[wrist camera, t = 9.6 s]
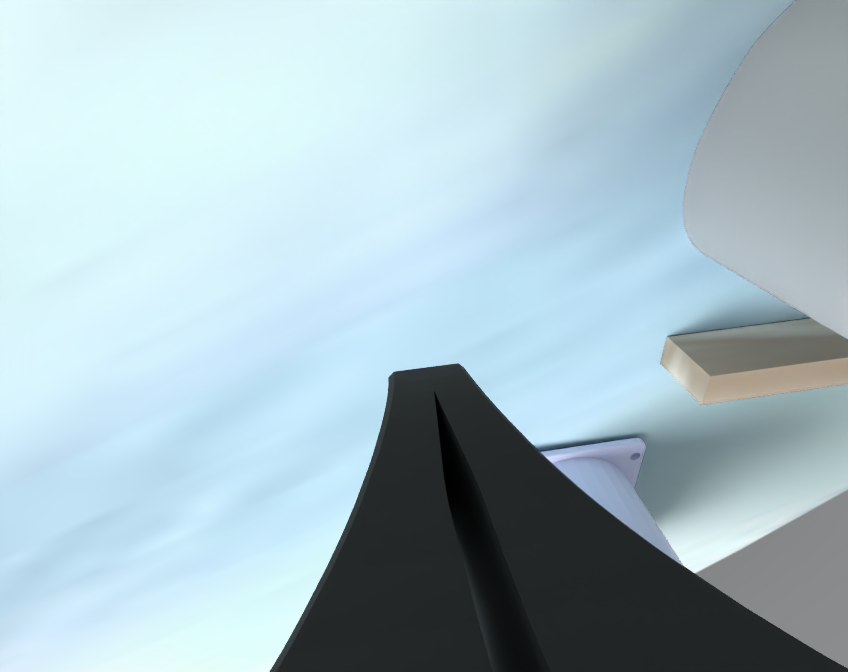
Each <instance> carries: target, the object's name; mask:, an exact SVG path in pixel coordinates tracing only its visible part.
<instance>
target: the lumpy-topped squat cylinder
mask: <svg viewBox="0 0 848 672" xmlns="http://www.w3.org/2000/svg"><path fill="white" fill-rule="evenodd" d="M683 221H684V227H685V230H686V233H687V235H688V238H689V239H690V241H691V243H692V244H693V245H694V247H695V248H696V249H697V250H698V251H699V252H701V253H702V254H704V255H705V256H707V257H709V258H710V259H712V260H714V261H715V262H717V263H719V264H720V265H722V266H724V267H725V268H727V269H729V270H731V271H732V272H734V273H736V274H737V275H739V276H741V277H742V278H744V279H746V280H747V281H749V282H751V283H752V284H754V285H756V286H758V287H759V288H761V289H763V290H764V291H766V292H768V293H769V294H771V295H773V296H775V297H776V298H778V299H780V300H781V301H783V302H785V303H787V304H788V305H790V306H792V307H793V308H795V309H797V310H798V311H800V312H802V313H803V314H805V315H807V316H808V317H810V318H812V319H813V320H815V321H817V322H819V323H820V324H822V325H824V326H826V327H827V328H829V329H831V330H832V331H834V332H836V333H838V334H839V335H841V336H843V337H845V338H846V339H848V0H795V1H794V2H793V3H792V4H791V5H790V6H789V7H788V8H787V9H786V10H785V11H784V12H783V13H782V14H781V15H780V16H779V17H778V18H777V19H776V20H775V21H774V22H773V23H772V24H771V25H770V26H769V27H768V28H767V29H766V30H765V31H764V33H763V34H762V35H761V36H760V37H759V38H758V40H757V41H756V42H755V43H754V45H753V46H752V47H751V49H750V50H749V52H748V53H747V55H746V56H745V58H744V59H743V61H742V63H741V64H740V66H739V67H738V69H737V71H736V72H735V74H734V76H733V77H732V79H731V81H730V83H729V84H728V86H727V88H726V89H725V91H724V93H723V95H722V97H721V98H720V100H719V102H718V104H717V106H716V108H715V109H714V111H713V113H712V115H711V117H710V119H709V121H708V123H707V125H706V127H705V129H704V131H703V133H702V135H701V138H700V140H699V142H698V145H697V147H696V150H695V153H694V156H693V159H692V163H691V166H690V170H689V174H688V178H687V183H686V188H685V194H684V202H683Z"/></svg>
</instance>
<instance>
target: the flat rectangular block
mask: <svg viewBox="0 0 848 672" xmlns="http://www.w3.org/2000/svg"><path fill="white" fill-rule="evenodd" d="M660 364H661V365H662V366H663V367H664V368H665V369H666V370H667V371H668V372H669V373H670V374H671V375H672V376H673V377H674V378H675V379H676V380H677V381H678V382H679V383H680V384H681V385H682V386H683V387H684V388H685V389H686V390H687V391H688V392H689V393H690V394H691V395H692V397H693V398H694V399H695V400H696V401H697V402H698V403H699V404H700V405H704V404H711V403H718V402H725V401H732V400H739V399H746V398H753V397H760V396H767V395H774V394H781V393H787V392H794V391H801V390H808V389H815V388H822V387H829V386H836V385H843V384H848V339H846V338H845V337H843V336H841V335H839V334H838V333H836V332H834V331H832V330H831V329H829V328H827V327H826V326H824V325H822V324H820V323H819V322H817V321H815V320H813V319H812V318H808V319H800V320H792V321H785V322H777V323H769V324H762V325H754V326H746V327H739V328H731V329H723V330H716V331H708V332H700V333H693V334H685V335H677V336H670V337H667V340H666V344H665V348H664V351H663V355H662V359H661V363H660Z"/></svg>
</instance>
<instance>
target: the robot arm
mask: <svg viewBox="0 0 848 672" xmlns="http://www.w3.org/2000/svg"><path fill="white" fill-rule="evenodd" d="M645 448H646V445H645V443H644V442H643V441H642V439H640V438H631V439H624V440H618V441H611V442H604V443H597V444H591V445H584V446H577V447H570V448H564V449H557V450H550V451H543V452H540V451H539V450H538V449H537V448H536V447H535V446H534V445H532V444H531V443H530V442H529V441H528V440H527V439H526V437H525V436H524V435H523V434H522V433H521V432H520V431H519V430H518V429H517V428H516V427H515V426H514V425H513V424H512V423H511V422H510V421H509V420H508V419H507V418H506V417H505V416H504V415H503V414H502V413H501V411H500V410H499V409H498V408H497V407H496V406H495V405H494V404H493V403H492V401H491V400H490V399H489V398H488V397H487V396H486V395H485V393H484V392H483V391H482V390H481V389H480V387H479V386H478V385H477V384H476V383H475V381H474V380H473V379H472V378H471V376H470V375H469V374H468V372H467V371H466V370H465V368H464V367H462V366H461V365H460V364H450V365H443V366H435V367H427V368H420V369H412V370H404V371H397V372H393V373H392V374H391V375H390V377H389V387H388V396H387V403H386V408H385V412H384V417H383V421H382V425H381V429H380V432H379V436H378V439H377V443H376V446H375V449H374V453H373V456H372V459H371V462H370V465H369V468H368V471H367V473H366V476H365V479H364V481H363V484H362V487H361V489H360V492H359V495H358V498H357V500H356V503H355V505H354V508H353V510H352V513H351V515H350V517H349V520H348V522H347V524H346V527H345V529H344V531H343V533H342V536H341V538H340V540H339V542H338V544H337V547H336V549H335V551H334V553H333V555H332V557H331V559H330V562H329V564H328V566H327V568H326V570H325V572H324V574H323V576H322V578H321V579H320V581H319V583H318V585H317V587H316V589H315V591H314V593H313V595H312V597H311V599H310V601H309V603H308V605H307V607H306V608H305V610H304V612H303V614H302V616H301V618H300V620H299V622H298V623H297V625H296V627H295V629H294V631H293V633H292V634H291V636H290V638H289V640H288V642H287V643H286V645H285V647H284V649H283V650H282V652H281V654H280V655H279V657H278V659H277V660H276V662H275V664H274V665H273V667H272V669H271V670H270V672H848V669H847V668H846V667H844V666H842V665H840V664H838V663H837V662H835V661H833V660H831V659H829V658H828V657H826V656H824V655H823V654H821V653H819V652H817V651H816V650H814V649H812V648H811V647H809V646H807V645H806V644H804V643H802V642H801V641H799V640H798V639H796V638H794V637H793V636H791V635H789V634H787V633H786V632H784V631H782V630H781V629H780V628H778V627H776V626H775V625H773V624H771V623H770V622H768V621H766V620H765V619H763V618H762V617H760V616H758V615H757V614H755V613H753V612H752V611H750V610H749V609H747V608H745V607H744V606H742V605H741V604H739V603H738V602H736V601H735V600H733V599H732V598H730V597H729V596H727V595H726V594H724V593H723V592H721V591H720V590H718V589H717V588H715V587H714V586H712V585H711V584H709V583H708V582H706V581H705V580H703V579H702V578H700V577H699V576H698V575H696V574H695V573H693V572H692V571H690V570H689V569H687V568H686V567H684V566H683V564H682V563H681V561H680V560H679V558H678V556H677V555H676V553H675V552H674V550H673V549H672V547H671V546H670V544H669V542H668V541H667V539H666V538H665V536H664V535H663V533H662V532H661V530H660V528H659V527H658V525H657V524H656V522H655V521H654V519H653V517H652V516H651V514H650V513H649V511H648V510H647V508H646V507H645V505H644V503H643V502H642V500H641V499H640V497H639V496H638V494H637V493H636V491H635V489H634V488H635V485H636V481H637V477H638V474H639V470H640V467H641V463H642V459H643V456H644V452H645Z"/></svg>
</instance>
